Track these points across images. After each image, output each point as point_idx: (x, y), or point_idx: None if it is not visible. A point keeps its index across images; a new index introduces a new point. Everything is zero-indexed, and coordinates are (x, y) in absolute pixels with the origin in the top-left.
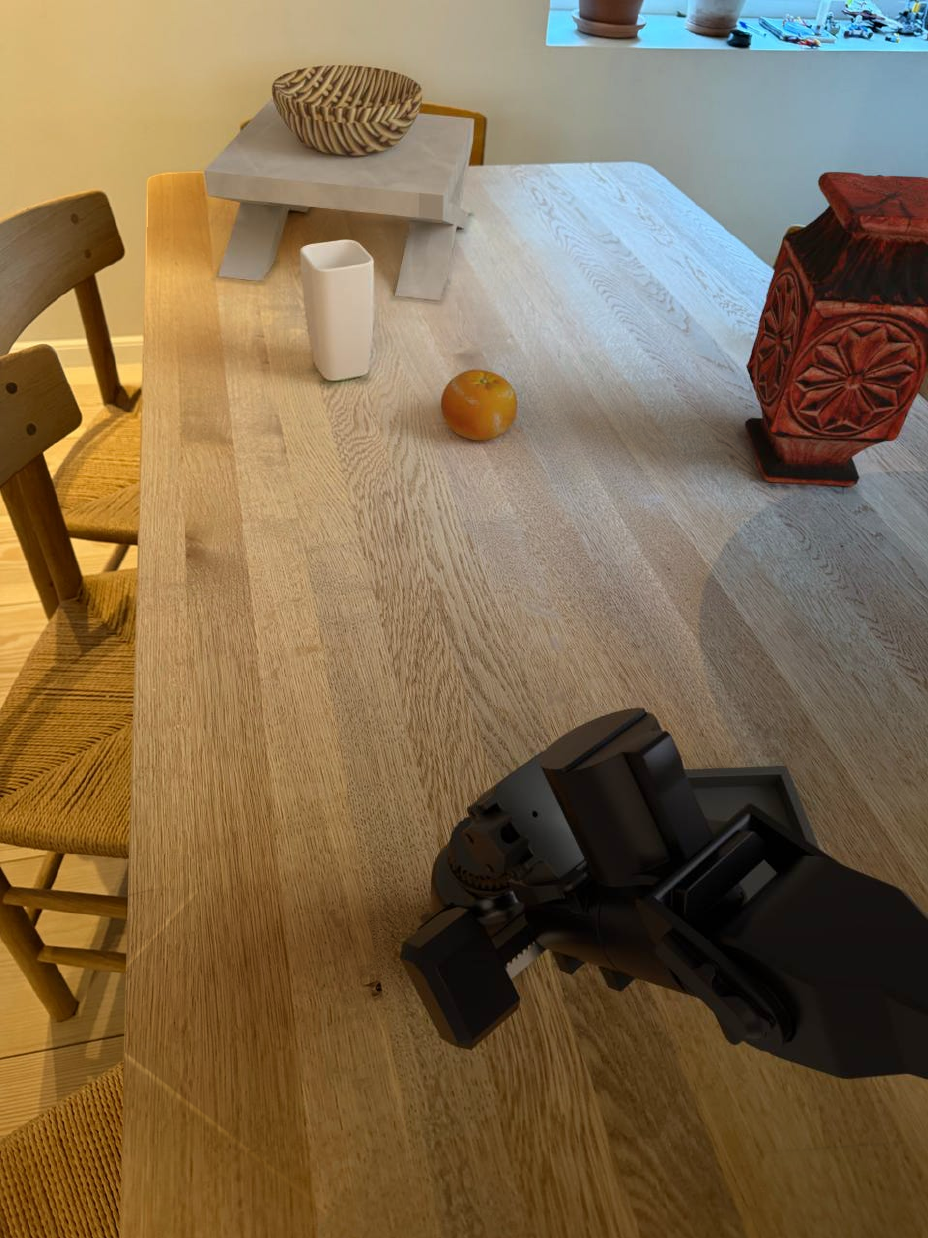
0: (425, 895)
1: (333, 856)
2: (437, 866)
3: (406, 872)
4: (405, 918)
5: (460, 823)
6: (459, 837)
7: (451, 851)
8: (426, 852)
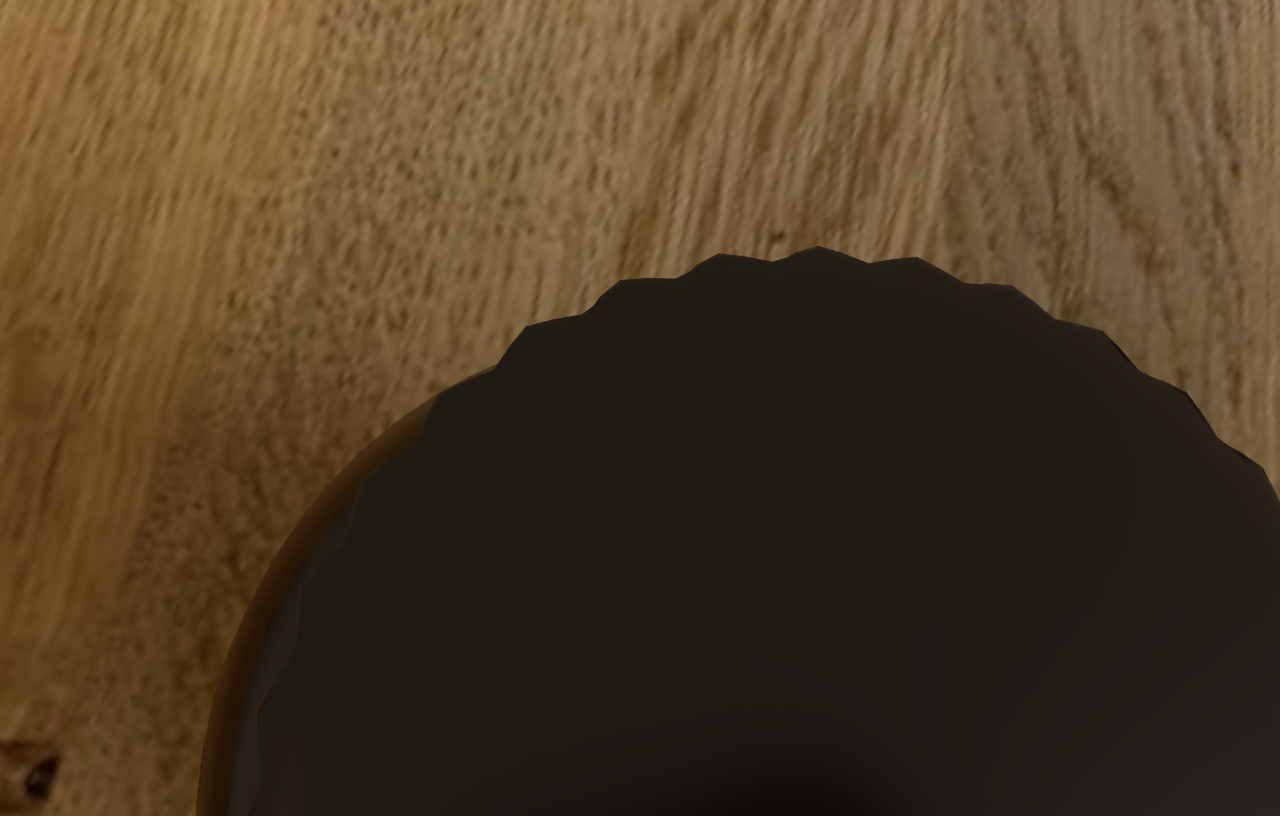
0: None
1: (170, 102)
2: (314, 543)
3: (434, 302)
4: None
5: (628, 309)
6: (511, 513)
7: (274, 696)
8: (557, 254)
